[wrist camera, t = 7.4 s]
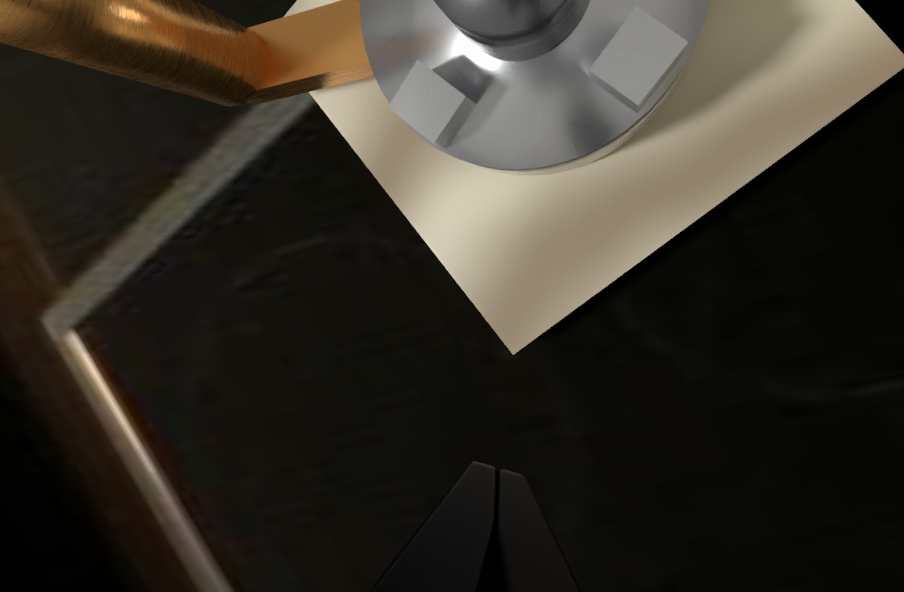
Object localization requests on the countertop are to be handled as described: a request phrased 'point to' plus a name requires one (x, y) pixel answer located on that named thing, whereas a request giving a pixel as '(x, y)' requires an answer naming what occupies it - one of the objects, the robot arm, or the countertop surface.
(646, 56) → the disc with rod
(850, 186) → the countertop surface
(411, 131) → the flange board
